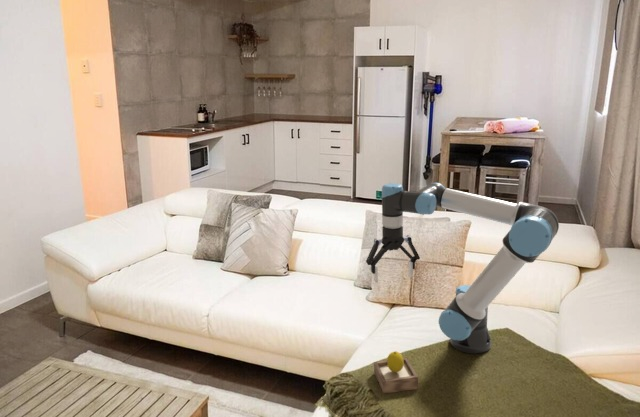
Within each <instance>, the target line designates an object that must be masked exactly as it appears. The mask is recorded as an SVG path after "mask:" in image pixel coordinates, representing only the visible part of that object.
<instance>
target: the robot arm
mask: <svg viewBox="0 0 640 417" xmlns="http://www.w3.org/2000/svg"><path fill="white" fill-rule="evenodd" d="M436 207H437V208H442V209H445V210H450V211H454V212H457V213H461V214H464V215H470V216H472V217H473V216H474V217H478V218H482V219H485V220H488V221H489V220H490V221H494V222H496V223H497V222H498V223H501V224H505V225H509V226H511V228H510V230H509V231H508V232H507V233H506V234H505V236H504V237H503V238H502V247H501V248H500V249H499V250H498V252H497V253H496V254H495V256H494V257H492V259H491V260H490V262H489V263H488V264H487V265H486V267H485V268H484V269H483V270H482V271H481V273H480V274H479V275H478V276H477V277H476V279H475V280H474V281H472V283H471V284H462V285H459V286H457V287H456V289H455V297H454V298H453V299H452V300H451V302H450V303H449V304H448V305H447V307H446V308H445V309H444V310H443V311H442V312H441V313H440V315H439V317H438V325H439V328H440V331H441V332H442V333H443V334H444V335H445V336H446V337H447V338H449V339H450V341H449V343H450V344H451V347H453V348H454V349H455V348H456V349H455V350H457V351H460V352H462V353H467V354H483V353H485V352H488V351H489V350H490V349H491V347H492V338H491V334H490V331H489V328H488V312H489V311H488V310H489V308H488V307H489V306H490V305H491V303H492V302H493V301H494V300H495V299H496V298H497V297H498V296H499V294H500V293H501V292H502V291H503V289H504V288H506V286H507V285H508V284H509V283H510V282H511V280H512V279H513V278H514V277H515V276H516V275H517V274H518V273H519V271H520V270H521V269H522V268H523V267H524V266H525V265H526V264H532V263H534V262H535V261H536V260H537V259H538V258H539V257H540V255H541V254H542V253H543V252H545V251H546V250H547V249H548V248H549V246H550V245H551V243H552V241H553V239H554V238H555V236H557V233H558V231H559V226H560V223H559V220H558V217H557V215H556V214H555V213H554V211H553V210H551V209H549V208H547V207H544V206H542V205H538V204H532V203H528V202H525V201H520V202H518V203H514V202H512V201H511V202H509V201H506V200H501V199H497V198H492V197H488V196H483V195H481V194H476V193H475V194H474V193H470V192H465V191H461V190H457V189H452V188H448V187H445V186H444V185H443V184H442V183H440V182H432V183H429V184H427V185H425V186H424V187H422V188H421V189H419V190H417V191H409V190H404V188H403V185H402V184H401V183H398V182H397V183H396V182H393V183H391V182H390V183H385V184H384V185H382V188H381V211H382V212H381V214H382V215H381V218H382V219H381V221H382V222H381V224H382V227H381V230H382V231H381V232H382V238H381V239H377V238H374V240H373V244H372V247H371V249H370V251H369V254H368V256H367V258H366V260H365V263H366V264H367V265H368V266H370V272H371V273H372V274H373V280H374V282H375V283H378V282H379V279H378V278H379V275H378V265H377V264H378V263H379V261H380V260H381V259H382V257H383V256H384V255H385V253H387V252H388V251H398V250H399V249H400V250H401V251H402V252H403V253H404V254H405V255H406V256H407V257H408V259H407V260H408V267H407V268H408V269H407V271H408V272H407V273H408V274H407V275H408V277H409V278H410V279H413V278H414V276H413V271H414V270H415V268H416V263H417V260H420V259H421V257H420V255H419V253H418V252H417V250H416V248H415V246H414V244H413V239H412V237H411V236H410V235H408V234H407V235H406V236H404V227H403V224H404V218H403V217H404V215H403V214H404V213H411V214H418V215H430V216H431V215H432V214H434V213H435V210H436ZM403 212H404V213H403ZM403 243H407V245H408V247H409V248H410V250H411V252H412V254H413V255H412V254H411V252H409V251H408V250H407V249H406V248H405V247H404V246H403ZM381 244H382V246H381ZM379 246H381V247H380V249H379ZM378 249H379V251H378ZM377 251H378V252H377Z"/></svg>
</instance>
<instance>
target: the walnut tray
mask: <svg viewBox="0 0 640 417" xmlns="http://www.w3.org/2000/svg"><path fill="white" fill-rule="evenodd" d="M403 361H404V364H403V368H402V369H401V371H399V372H396V373H395V372H393V371H391V370H390V369H389V367H388V365H387V360H386V359H385V360H380V361H373V374H374V373H375V374H374V375H376V376H375V379H376V381H377V382H379V383H378V384H379V387H380V389H381V391H382V393H383V394H390V393H396V392H405V391H410V390H418V389H419V376H418V374H417V372H416V370H415V369H414V367H413V366H412V364H411V362H410V361H409V359H408V358H407V357H403Z"/></svg>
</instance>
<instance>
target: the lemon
mask: <svg viewBox="0 0 640 417" xmlns="http://www.w3.org/2000/svg"><path fill="white" fill-rule="evenodd" d="M403 358H404V357H403V355H402V354H401V353H400V352H398V351H396V350H395V351H392V352H390V353H389V354H388V356H387V358H386V359H387V365H388V367H389V369H390V370H391V371H393V372H395V373H396V372H399V371H401V369H402V368H403V364H404V361H403Z"/></svg>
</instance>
